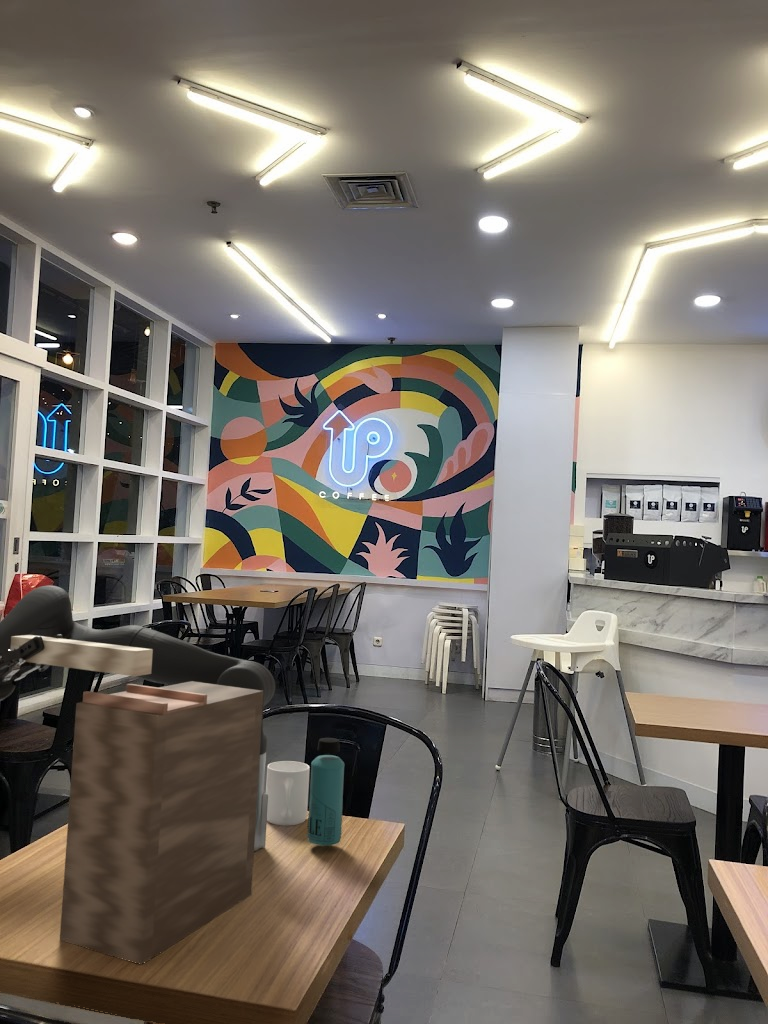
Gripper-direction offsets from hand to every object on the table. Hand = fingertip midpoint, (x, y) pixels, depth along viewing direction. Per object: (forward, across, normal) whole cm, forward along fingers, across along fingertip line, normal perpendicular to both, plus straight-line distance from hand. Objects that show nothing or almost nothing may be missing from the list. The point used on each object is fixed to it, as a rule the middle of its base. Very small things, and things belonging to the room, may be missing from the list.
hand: (51, 641), depth 126 cm
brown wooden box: (-4, +7, +43) cm, 44 cm away
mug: (-10, +54, +40) cm, 67 cm away
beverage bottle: (+2, +45, +47) cm, 65 cm away
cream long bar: (+3, 0, +6) cm, 6 cm away
